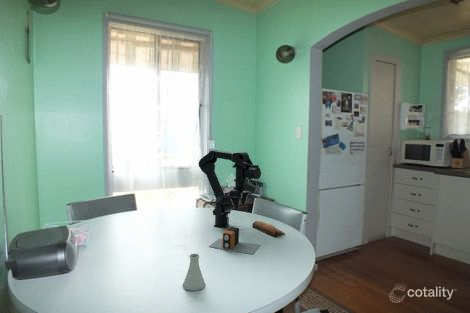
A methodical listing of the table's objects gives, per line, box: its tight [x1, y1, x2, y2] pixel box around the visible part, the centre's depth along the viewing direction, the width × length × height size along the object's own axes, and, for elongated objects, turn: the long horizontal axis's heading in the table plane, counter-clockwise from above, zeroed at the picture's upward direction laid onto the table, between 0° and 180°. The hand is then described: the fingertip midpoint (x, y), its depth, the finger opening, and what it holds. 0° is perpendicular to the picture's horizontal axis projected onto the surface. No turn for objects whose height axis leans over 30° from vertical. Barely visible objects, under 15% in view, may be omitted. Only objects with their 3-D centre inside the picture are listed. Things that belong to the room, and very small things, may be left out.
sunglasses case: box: [251, 220, 286, 238], centre depth 148 cm, size 18×7×7 cm, turn 35°
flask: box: [182, 253, 206, 292], centre depth 92 cm, size 7×7×10 cm
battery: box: [222, 226, 240, 249], centre depth 126 cm, size 4×7×10 cm
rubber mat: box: [208, 237, 261, 256], centre depth 126 cm, size 20×11×1 cm, turn 69°
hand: (240, 207), depth 147 cm, fingers open, 9 cm apart
